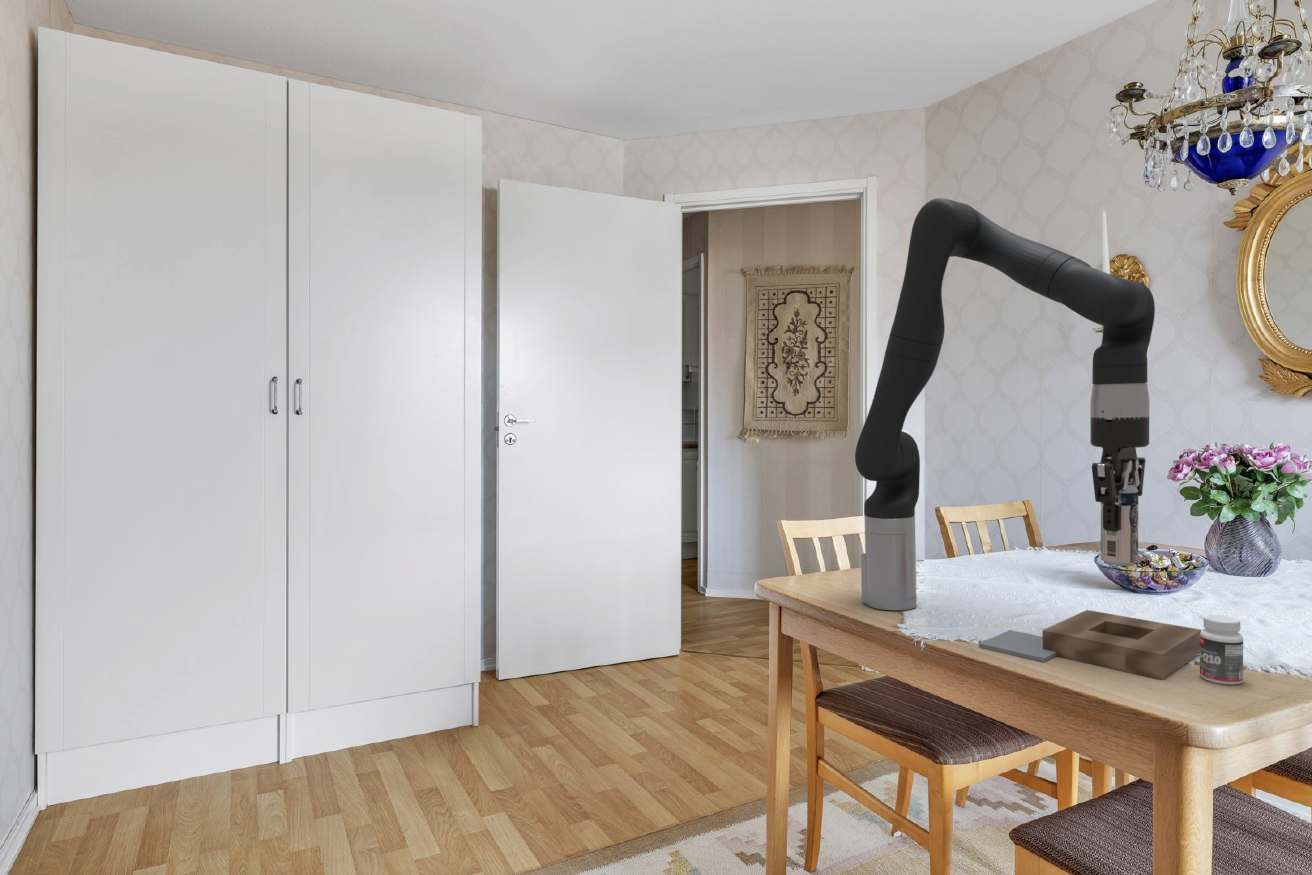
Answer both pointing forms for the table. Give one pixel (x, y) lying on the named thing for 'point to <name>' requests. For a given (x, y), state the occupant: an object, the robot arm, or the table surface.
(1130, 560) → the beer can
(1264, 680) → the table surface
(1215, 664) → the pill bottle
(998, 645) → the mat
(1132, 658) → the block
